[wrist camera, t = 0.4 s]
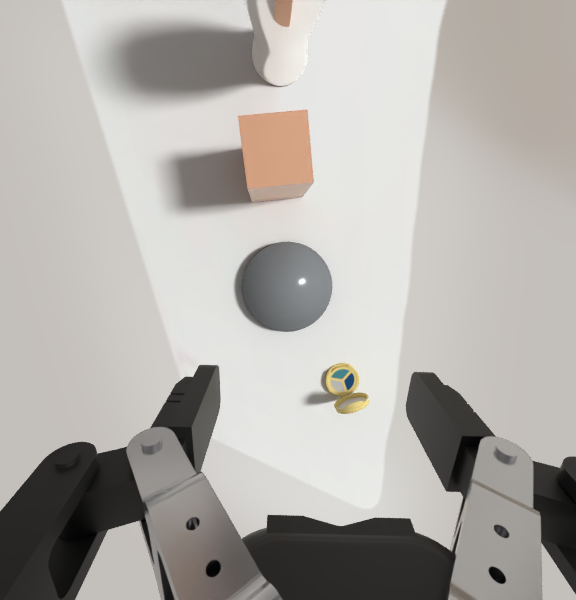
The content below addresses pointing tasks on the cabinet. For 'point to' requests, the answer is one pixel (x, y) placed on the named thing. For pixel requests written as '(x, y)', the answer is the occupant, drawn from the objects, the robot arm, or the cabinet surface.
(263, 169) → the peach pillar
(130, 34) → the cabinet surface
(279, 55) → the beer glass
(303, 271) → the grey round puck
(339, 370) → the eyeshadow
